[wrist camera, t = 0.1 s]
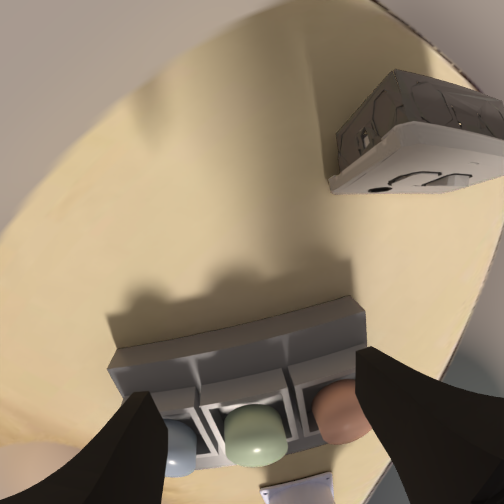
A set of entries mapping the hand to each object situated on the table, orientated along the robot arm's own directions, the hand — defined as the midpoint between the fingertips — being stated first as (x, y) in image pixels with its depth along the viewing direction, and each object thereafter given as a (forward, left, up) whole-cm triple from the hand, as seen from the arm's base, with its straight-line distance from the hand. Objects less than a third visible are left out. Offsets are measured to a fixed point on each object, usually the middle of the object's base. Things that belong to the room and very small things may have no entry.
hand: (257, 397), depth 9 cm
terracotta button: (-7, -4, -6) cm, 10 cm away
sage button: (-8, +1, -6) cm, 10 cm away
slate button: (-8, +7, -6) cm, 12 cm away
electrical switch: (+7, -11, -10) cm, 17 cm away
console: (-8, +1, -10) cm, 13 cm away
